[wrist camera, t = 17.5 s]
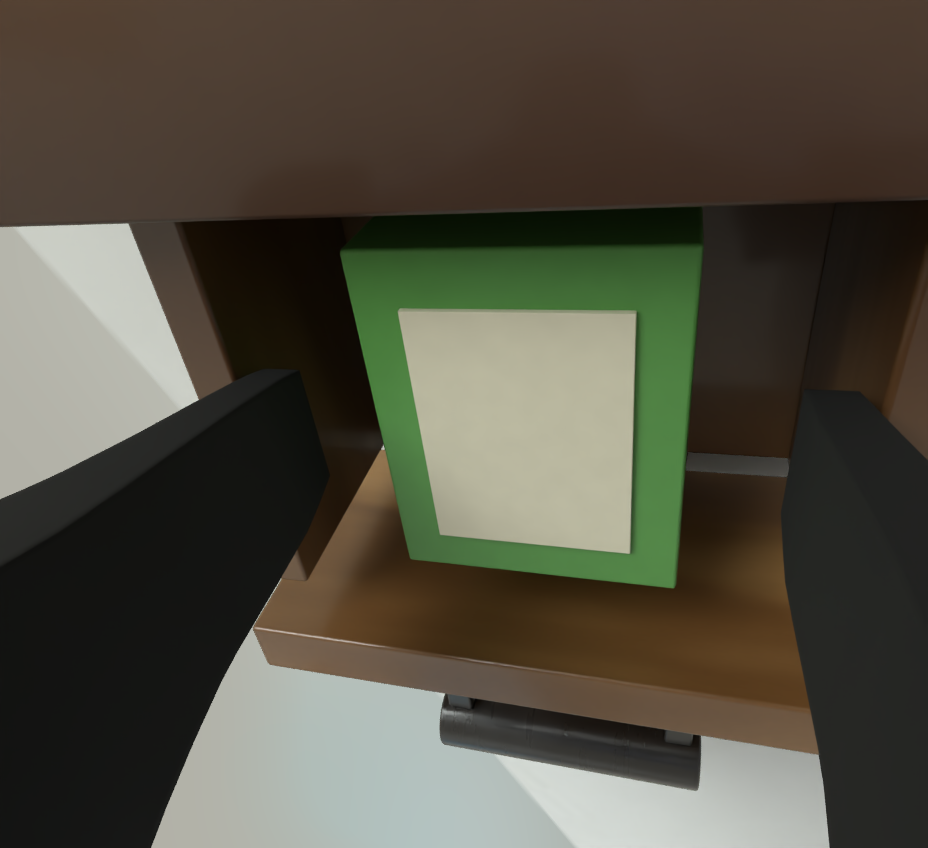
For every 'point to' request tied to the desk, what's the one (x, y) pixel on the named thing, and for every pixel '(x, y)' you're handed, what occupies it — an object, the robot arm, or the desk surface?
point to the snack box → (534, 383)
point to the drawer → (558, 597)
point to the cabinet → (454, 106)
